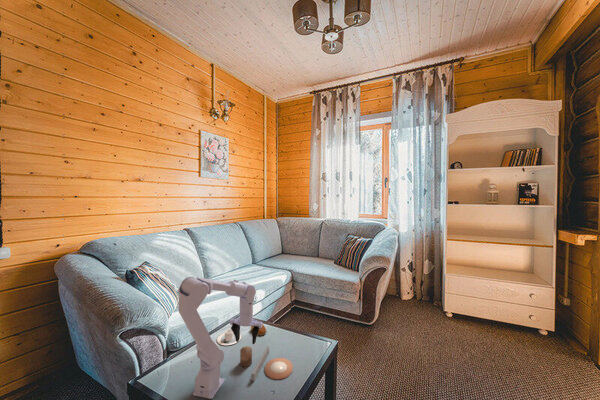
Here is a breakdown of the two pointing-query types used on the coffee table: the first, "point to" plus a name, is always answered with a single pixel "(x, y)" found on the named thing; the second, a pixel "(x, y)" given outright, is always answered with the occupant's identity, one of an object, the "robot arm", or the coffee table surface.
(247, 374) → the coffee table surface
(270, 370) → the resting plate
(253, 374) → the acrylic wall
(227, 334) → the candle holder
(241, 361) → the walnut cylinder
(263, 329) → the pastry
